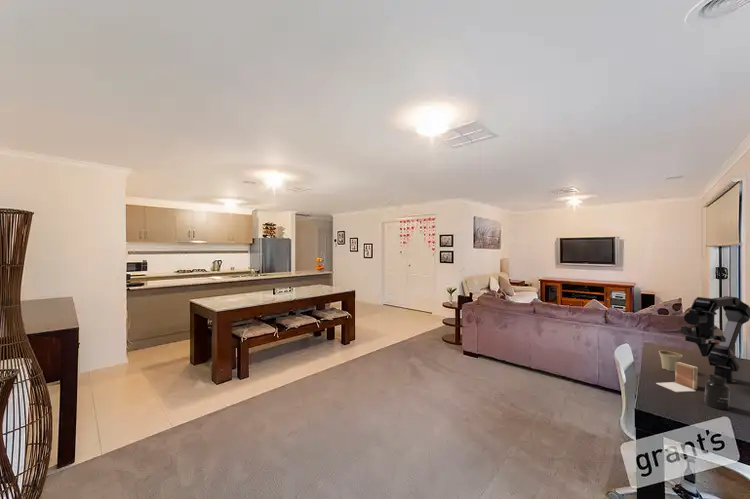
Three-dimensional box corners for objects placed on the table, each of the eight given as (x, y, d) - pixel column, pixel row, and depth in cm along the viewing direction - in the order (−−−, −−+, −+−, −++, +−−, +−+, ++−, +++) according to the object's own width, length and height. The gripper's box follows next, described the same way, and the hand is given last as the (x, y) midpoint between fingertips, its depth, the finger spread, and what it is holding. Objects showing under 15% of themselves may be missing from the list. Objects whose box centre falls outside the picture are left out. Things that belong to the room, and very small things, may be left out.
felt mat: (674, 383, 150) (674, 382, 150) (695, 391, 141) (695, 390, 141) (656, 383, 149) (656, 382, 149) (676, 392, 140) (676, 391, 140)
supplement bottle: (725, 411, 123) (726, 381, 123) (701, 404, 129) (702, 375, 129) (731, 408, 126) (732, 378, 126) (708, 400, 132) (708, 372, 132)
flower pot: (687, 373, 162) (687, 357, 162) (666, 372, 164) (666, 355, 164) (673, 367, 171) (674, 351, 171) (653, 365, 173) (654, 350, 173)
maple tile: (678, 382, 150) (679, 362, 150) (697, 389, 144) (697, 367, 144) (674, 383, 150) (675, 362, 150) (693, 389, 143) (693, 367, 143)
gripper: (697, 319, 161) (696, 349, 161) (672, 320, 156) (671, 352, 156) (726, 324, 150) (726, 356, 150) (700, 326, 145) (700, 359, 145)
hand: (704, 356), depth 151 cm, fingers closed
